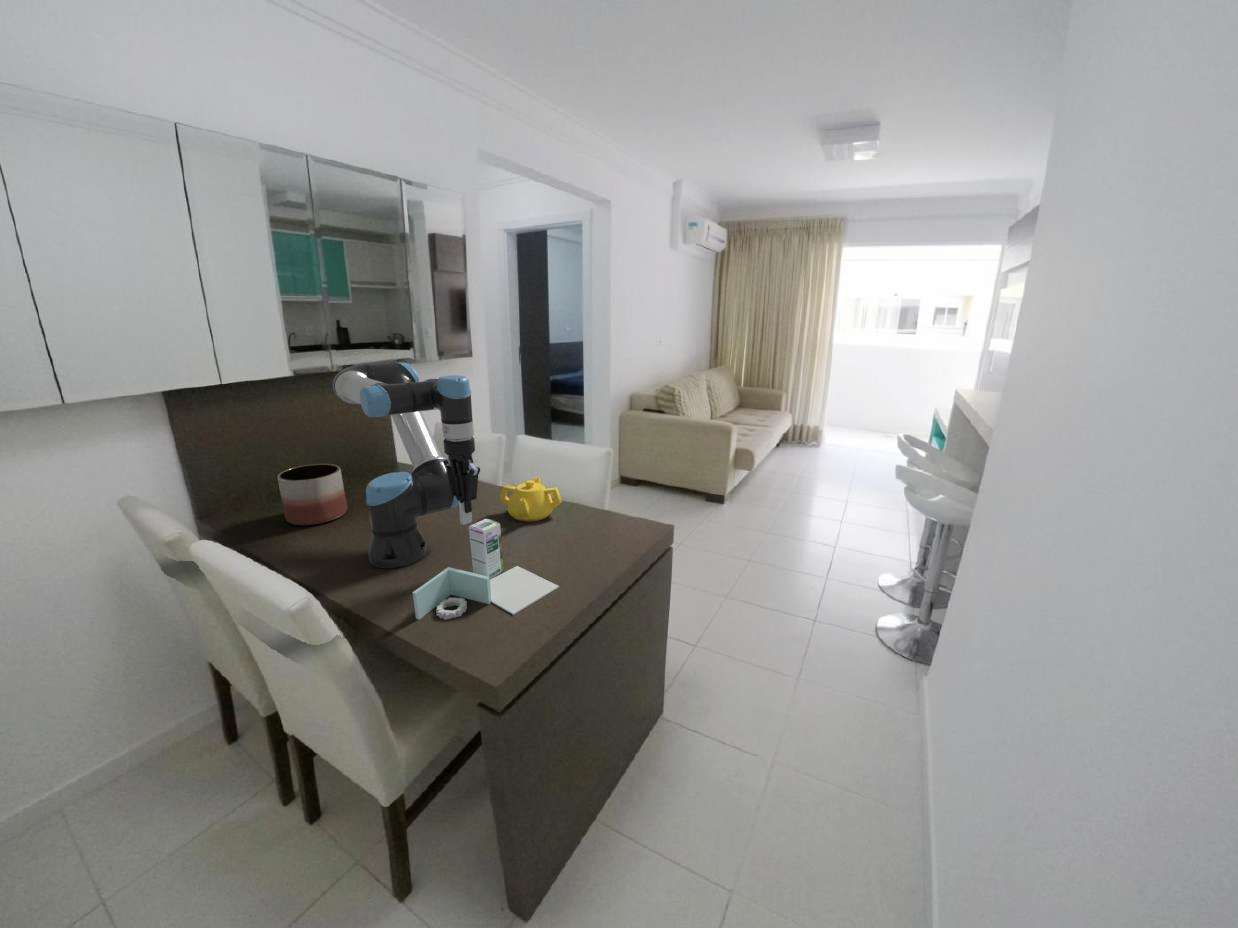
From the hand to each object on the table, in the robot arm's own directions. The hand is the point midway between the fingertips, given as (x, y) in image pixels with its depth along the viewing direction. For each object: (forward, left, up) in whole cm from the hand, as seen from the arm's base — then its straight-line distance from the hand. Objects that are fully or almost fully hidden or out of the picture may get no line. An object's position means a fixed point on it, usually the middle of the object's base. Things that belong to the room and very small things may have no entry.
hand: (466, 522), depth 130 cm
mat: (+19, 0, -13) cm, 23 cm away
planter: (-66, -13, -13) cm, 68 cm away
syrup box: (+8, 0, -13) cm, 15 cm away
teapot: (-13, +34, -13) cm, 38 cm away
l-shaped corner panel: (+15, -15, -13) cm, 25 cm away
